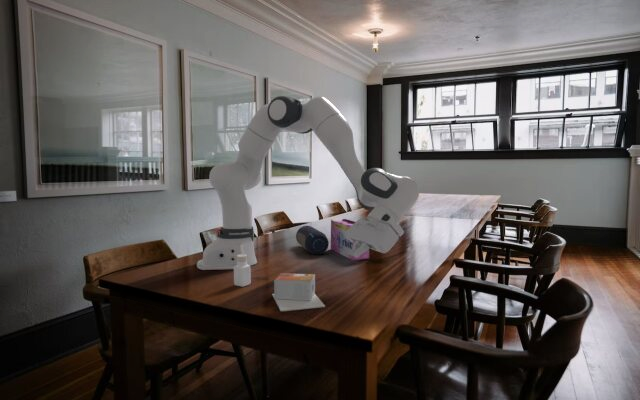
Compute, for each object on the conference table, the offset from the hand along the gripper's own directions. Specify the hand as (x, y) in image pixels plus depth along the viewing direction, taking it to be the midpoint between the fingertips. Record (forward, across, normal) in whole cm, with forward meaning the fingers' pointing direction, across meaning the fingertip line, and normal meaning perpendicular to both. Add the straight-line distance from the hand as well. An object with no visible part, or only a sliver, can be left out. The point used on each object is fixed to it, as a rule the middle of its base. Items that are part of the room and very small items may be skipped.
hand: (353, 255), depth 119 cm
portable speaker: (-1, -59, +18) cm, 62 cm away
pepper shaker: (+28, -21, -11) cm, 37 cm away
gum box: (-9, -45, +26) cm, 53 cm away
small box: (+15, 0, -3) cm, 15 cm away
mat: (+21, 0, -5) cm, 21 cm away
